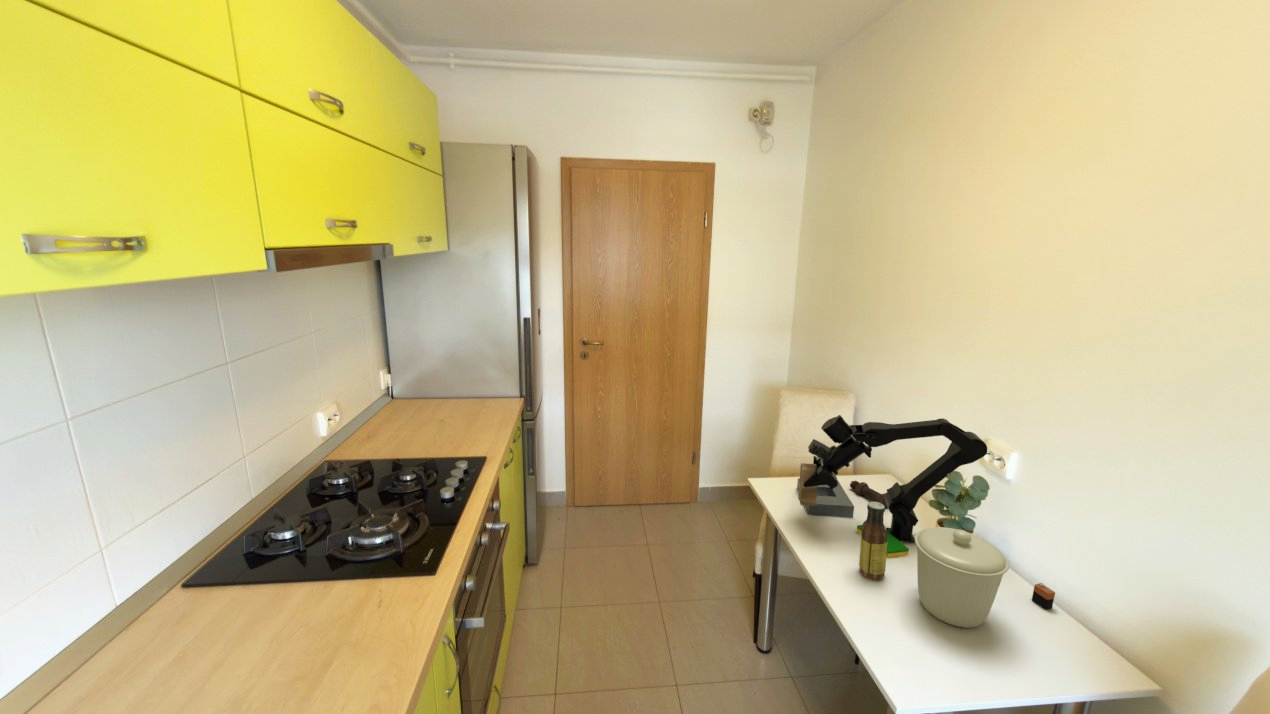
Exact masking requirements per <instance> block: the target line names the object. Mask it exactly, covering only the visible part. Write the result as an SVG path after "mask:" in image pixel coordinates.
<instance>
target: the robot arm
mask: <svg viewBox="0 0 1270 714" xmlns="http://www.w3.org/2000/svg"><path fill="white" fill-rule="evenodd" d="M820 430H822V431H823V432H824V434H826V435H827V436H828V438H829V439H831V440H832V441H833V443H834V444H839V445H837V446H836V445H831V446H830V447H829V446H827V445H826V444H825V443H823V442H820V441H819V440H816V439H815V438H814V439H812V441H811V442H810V444H809V445H808V446H807V448H808V451H807V452H809V453H810V454H811V455H813V459H812V461H813V462H812V464H816V466H817V468H818V469H817V468H816V467H815V473H814V474H813V475H812V476H811V477H810V478H809V479H808V480H807V481H806V482H805V483H804V484H803V485H804V486H805V487H811V486H819V485H828V486H829V487H830V488H831V489H834V488H835V487H837V486H838V481H839V480H838V477H837V475H838V474H839V471H840V470H841V469H842V468H844V467H846V468H849V467H850V463H852V462H853V461H854V460H855V459H858V457H860V456H861V455H863V454H865V455H866V456H867V457H868V458H869V459H870V458H872V451H873V448H878V447H882V446H887V445H889V444H890V443H892V442H896V441H899V440H911V439H921V438H933V437H940V436H941V437H945V438H946V439H948V440H949V441H950V444H949V446H948V448H947V450H946V452H945V453H944V454H943V455H941V456H940V457H938V459H936V460H935V461H934V462H932V463H931V464H930V465H928V466H927V467H926V468H925V469H923V471H921V472H920V473H919V474H917V475H916V476H915V477H914V478H913V479H911V480H910V481H909V482H907V483H905V484H901V485H900V484H899V482H897V481H896V482H895V483H894V484H893V485H892V486H891V487H889V488H887V489H886V492H885V493H886V494H885V501H886V504H887V506H888V509H887V510H888V511H889V513H890V514H891V522H890V527H885V529H886V531H888V532H889V533H890V534H891V535H893V536H894V537H895V538H896V539H898V540H899V541H900V542H901V541H903V542H904V543H915V536H914V535H913V530H914V527H915V526H917V524H918V522H919V519H918V517H917V515H916V513H915V511H914V509H915V508H916V506H917V503H918V502H919V500H920V498H922V496H924V495H925V494H926V493H927V492H929V491H930V490H932V489H933V488H934V487H935V486H936V485H938V484H939V483H940V482H941V481H943V480H945V478H947V477H948V476H947V474H948V473H950V474H952V473H953V472H954V471H956V470H957V469H958V468H959V467H961V466H965V465H969V464H973V463H975V462H977V461H979V460H980V459H982V458H984V457H985V456H986V455H987V454H988V446H987V444H986V443H985V441H984V440H982V438H981V437H980V436H979V435H977V434H976V433H974V432H971V431H965V430H964V429H962V428H960V427H959V426H957V425H956V424H953V423H951V422H950V421H949V420H948V419H947V418H938V419H933V420H931V419H930V420H923V421H920V420H919V421H912V422H904V423H903V422H902V423H895V424H894V423H886V422H885V423H884V422H881V421H880V422H875V421H868V422H864V423H863V424H848V423H847V422H846V421H845V419H844V417H842V415H837V416H834V417H832V418H828V419H827V420H826V421H825V422H824V423H823V424H822V425H821V429H820ZM951 472H952V473H951ZM903 542H902V543H903Z"/></svg>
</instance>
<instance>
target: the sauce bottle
mask: <svg viewBox="0 0 1270 714" xmlns="http://www.w3.org/2000/svg"><path fill="white" fill-rule="evenodd" d="M866 508H867V516H866V519H865V520H864V521H863V523H862V524H861V525H862V534H861V535H860V548H859V563H858V567H859V571H860V573H861V575H862V576H864V577H866V578H868V579H870V580H877V581H878V580H882V579H884V577H885V573H886V567H887V563H886V562H887V558H886V553H887V531H886V527H885V523H884V513H885V512H886V511H885V510H886V509H885V506H884V505H883V504H881V503H879V502H875V501H869V502H868V503H867V506H866Z"/></svg>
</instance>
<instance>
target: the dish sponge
mask: <svg viewBox="0 0 1270 714" xmlns="http://www.w3.org/2000/svg"><path fill="white" fill-rule="evenodd" d="M856 532H857V533H858V534H859V535H860V536H861V534H862V524H858V525H856ZM909 552H910V549H909V547H908V546H906V545H905V544H904V543H903V542H901V541H899V540H898V539H896V538H895V537H894V536H893V535H891V534H890V533H889V532H888V531H887V553H886V559H892V558H893V557H894V558H900V556H901V557H908V556H909ZM907 555H908V556H907ZM894 558H893V559H894Z"/></svg>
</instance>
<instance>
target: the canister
mask: <svg viewBox="0 0 1270 714" xmlns="http://www.w3.org/2000/svg"><path fill="white" fill-rule="evenodd" d="M914 538H915V542H914V543H915V545H916V547H917V568H916V569H917V592H918V597H919V600H920V602H921V604H922V605H923V607H924V608H925V609H926V610H927V612H928V613H930V614H931V616H933V617H935V618H936V619H939V620H940V621H942V622H943V623H946V624H949V625H952V626H954V627H955V626H956V627H958V628H969V629H970V628H976V627H978V626H981V625H982V624H983V623H984V622H985V621H986V620H987V619H988V616H989V614H990V612H991V609H992V606H993V604H994V602H995V599H996V597H997V593H998V590H999V588H1000V584H1001V582H1002V579H1003V576H1004V574H1005V573H1007V572H1008V571H1009V569H1010V562H1009V561H1010V560H1009V559H1008V558H1007V556H1006V555H1005V554H1004V552H1002V551H1001V550H1000V549H999V548H997V547H996V545H993V544H992V543H991V542H989V541H988V540H985V539H984V538H982V537H980V536H978V535H975V534H973V533H971V532H968V531H966V530H963V529H958V528H953V527H942V526H941V527H940V526H938V527H928V528H924V529H921V530H919V531H918V532H916V534H915V536H914Z"/></svg>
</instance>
